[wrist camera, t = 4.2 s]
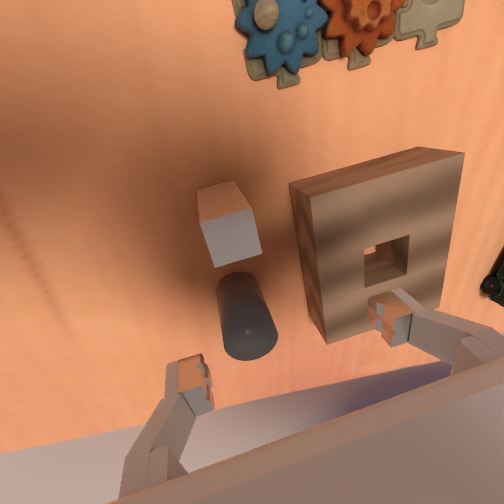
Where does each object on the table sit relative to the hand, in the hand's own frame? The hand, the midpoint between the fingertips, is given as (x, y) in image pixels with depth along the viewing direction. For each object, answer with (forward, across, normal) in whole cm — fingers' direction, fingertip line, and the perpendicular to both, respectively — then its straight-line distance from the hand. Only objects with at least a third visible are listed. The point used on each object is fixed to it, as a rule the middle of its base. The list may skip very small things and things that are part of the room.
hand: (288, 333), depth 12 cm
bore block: (+19, -15, +10) cm, 26 cm away
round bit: (+19, +2, +12) cm, 23 cm away
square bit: (+20, +1, 0) cm, 20 cm away
